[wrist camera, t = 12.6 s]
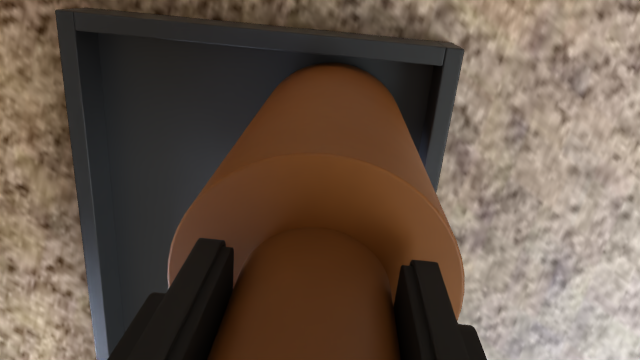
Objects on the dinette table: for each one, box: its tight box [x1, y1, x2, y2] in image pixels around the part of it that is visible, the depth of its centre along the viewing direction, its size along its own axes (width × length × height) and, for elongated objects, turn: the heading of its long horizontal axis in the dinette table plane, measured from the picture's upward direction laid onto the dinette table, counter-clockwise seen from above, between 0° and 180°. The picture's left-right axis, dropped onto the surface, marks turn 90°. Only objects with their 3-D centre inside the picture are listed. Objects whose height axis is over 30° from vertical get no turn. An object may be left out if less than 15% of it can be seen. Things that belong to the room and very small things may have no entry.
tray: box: [55, 8, 464, 360], centre depth 28 cm, size 18×35×3 cm, turn 175°
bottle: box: [167, 63, 464, 360], centre depth 15 cm, size 7×7×18 cm
